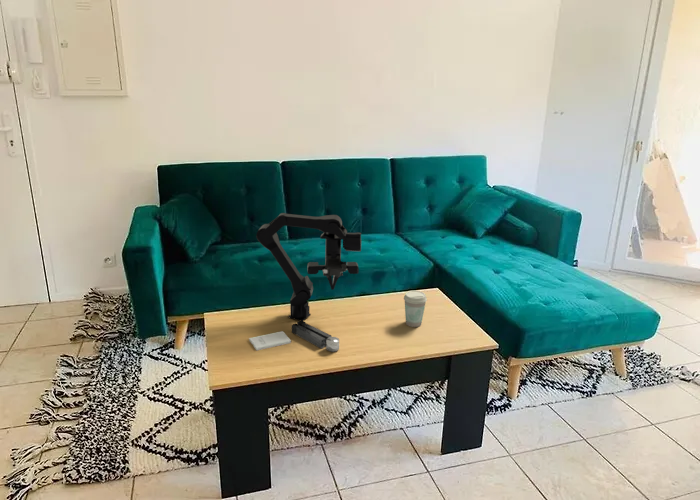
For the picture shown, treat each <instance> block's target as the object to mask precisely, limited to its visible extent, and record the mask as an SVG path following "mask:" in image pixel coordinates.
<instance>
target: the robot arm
mask: <svg viewBox="0 0 700 500" xmlns="http://www.w3.org/2000/svg"><path fill="white" fill-rule="evenodd" d="M284 226H286V227H295V228H296V227H297V228H303V229H314V230H315V229H316V230H317V231H318V230H319V231H321V232H323V233H321V235H320V239H321V240H325V253H324V254H325V255H324V256H325V257H324V259H325V262H324V263H325V264H319V262H318V261H316V262H315V261H310V262H308V263H307V274H308V275H317V274H318V273H319V272H320V271H322V274H323V276H324V277H326V278H327V280H328V283H329V286H330V289H331V290H335V287H336V284H337V282H338V280H339V278H340V277H342V276H344V272H348V274H350V275H351V274H352V275H354V274H355V275H358V274H359V271H360V270H359V264H358V262H356V261H347V262H346V261H343V260H342V258H341V257H342V248H343V250H345V252H361V251H362V232H348V230H347V229H346V228H345V227H344V225H343V221H342V218H341V217H340V216H339V215H337V214H329V215H328V214H327V215H321V216H314V215H313V216H311V215H302V214H291V213H286V212H281V213H279V215H278V216H277V217H275V218H274V219H272V221H271V222H269V223H264V224H262V225H261V226H260V228H259V229H258V230H257V232H256V239H257V241H258V242H259V243H260V245H262V246H263V247H264V248H265V249H266V250H268V251H270V253H271V255H272V256H273V257H274V258H275V260H276V262H277V264H278V265H279V266H280V268H281V269H282V271H283V273H284V274H285V275H286V277H287V278H288V279H289V281H290V283H291V284H290V285H291V287H292V290H293V293H292V296H291V298H290V301H289V303H290V306H289V307H290V309H289V310H290V311H289V312H290V313H289V315H288V319H293V320H297V321H300V320H302V321H306V319H308V318H309V317H310V316H311V314H312V313H310V305H309V300H310V299H311V297H312V295H313V291H314V286H313V284H314V283H313V282H312V281H311V279H310V277H309V276H308V275H306V276H304V275H302V274H301V273H300V271H299V270H298V268H297V267H296V266H295V264H294V262H293V261H292V259H291V257H289V255H288V254H287V252H286V250H285V249H284V248H283V246H282V244H281V243H280V239H279V235H278V233H277V232H279V231H280V229H282V228H283V227H284ZM341 260H342V261H341Z"/></svg>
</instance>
